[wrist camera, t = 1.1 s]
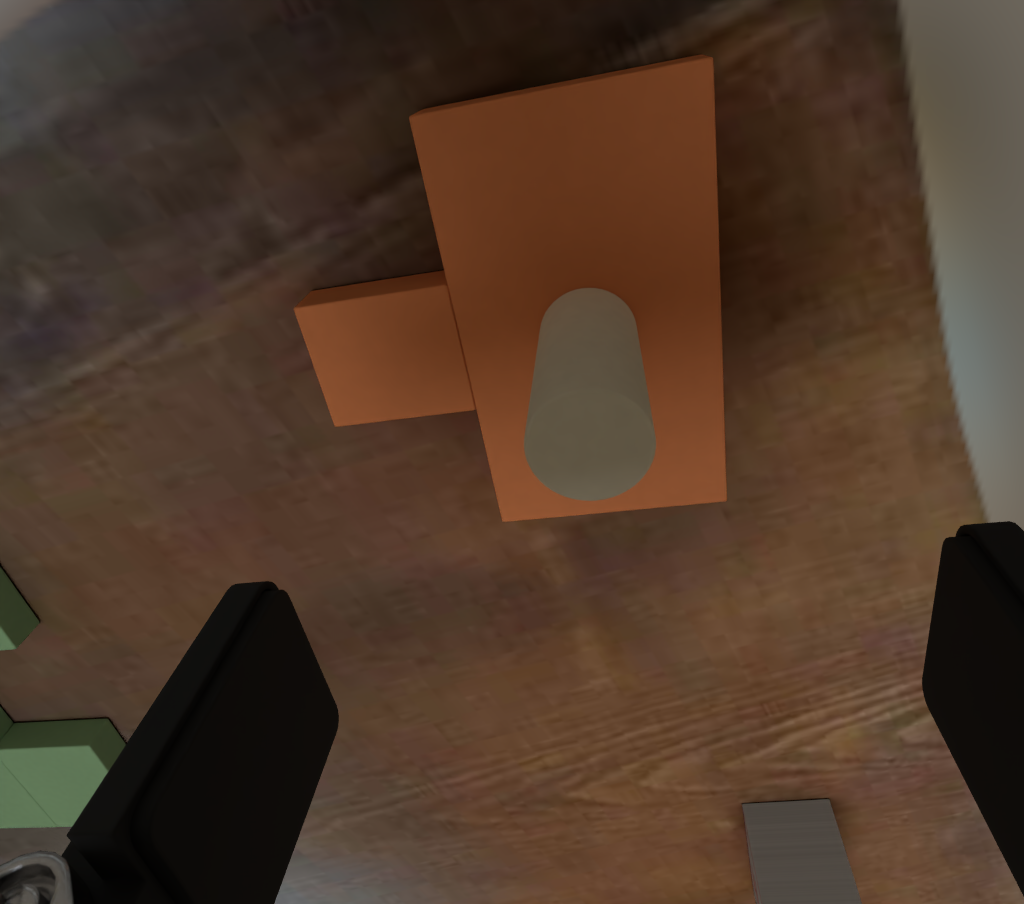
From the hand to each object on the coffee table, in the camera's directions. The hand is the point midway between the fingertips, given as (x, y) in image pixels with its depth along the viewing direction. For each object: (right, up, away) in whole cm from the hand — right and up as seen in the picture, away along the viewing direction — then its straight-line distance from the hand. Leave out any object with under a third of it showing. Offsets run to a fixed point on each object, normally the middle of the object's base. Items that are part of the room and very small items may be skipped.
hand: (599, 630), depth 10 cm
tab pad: (-1, +6, +10) cm, 12 cm away
